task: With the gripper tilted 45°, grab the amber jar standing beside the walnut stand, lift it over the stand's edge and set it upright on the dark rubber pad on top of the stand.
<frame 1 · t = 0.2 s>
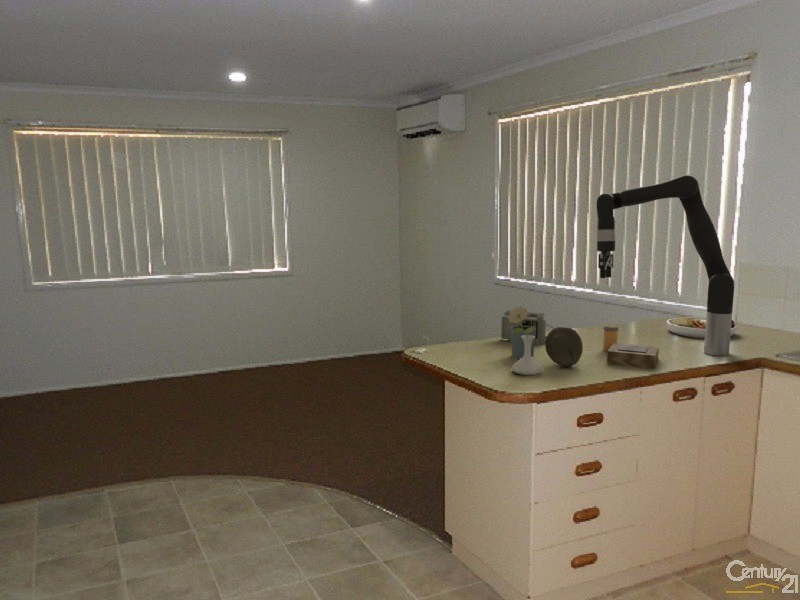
hand: (605, 277, 273), 29 cm above the worktop, tool pointing down, fingers open, 8 cm apart
coconut: (562, 366, 239), on the worktop
flower in vase: (524, 374, 228), on the worktop
drinking glass: (522, 357, 254), on the worktop
stand: (632, 361, 245), on the worktop
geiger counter: (528, 342, 281), on the worktop
amber jar: (609, 350, 264), on the worktop
bowl: (700, 334, 299), on the worktop
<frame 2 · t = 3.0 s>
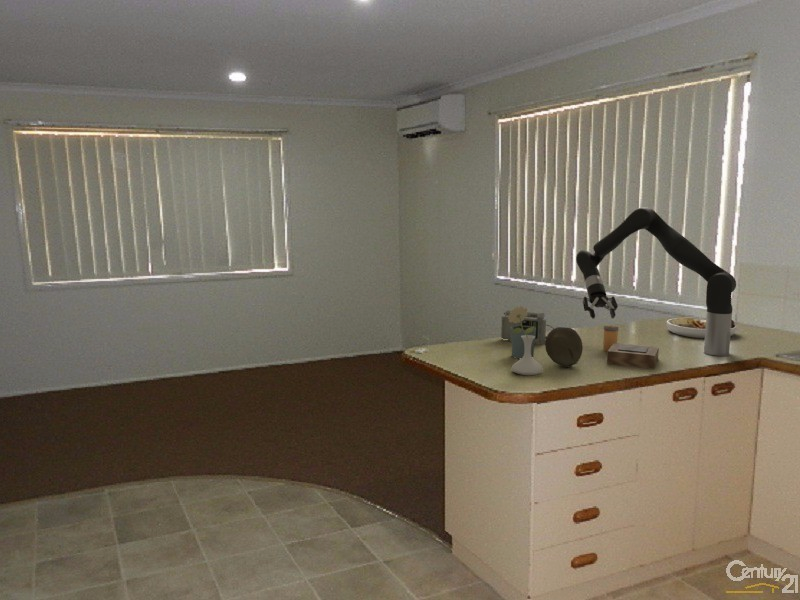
hand: (603, 317, 271), 12 cm above the worktop, tool tilted 45°, fingers open, 8 cm apart
nothing on the worktop moved.
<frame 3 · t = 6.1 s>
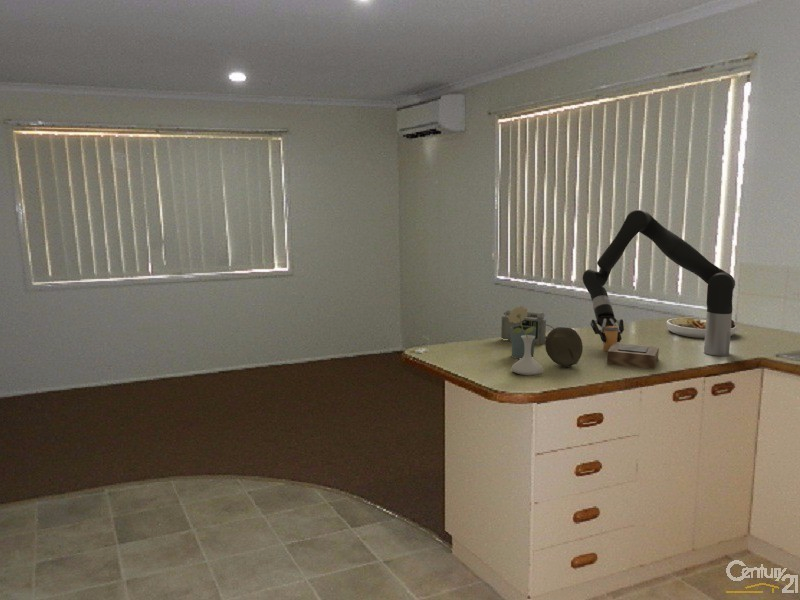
hand: (612, 341, 262), 4 cm above the worktop, tool tilted 45°, fingers closed on amber jar, 5 cm apart
amber jar: (609, 350, 264), on the worktop, touching gripper
everything else where it was.
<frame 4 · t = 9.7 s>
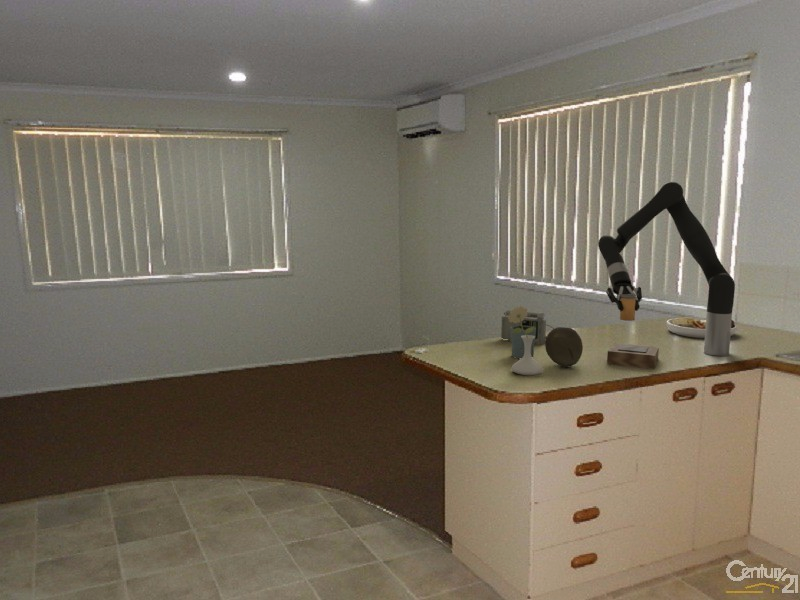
hand: (629, 309, 247), 20 cm above the worktop, tool tilted 45°, fingers closed on amber jar, 5 cm apart
amber jar: (627, 319, 249), point 16 cm above the worktop, touching gripper
everything else where it was.
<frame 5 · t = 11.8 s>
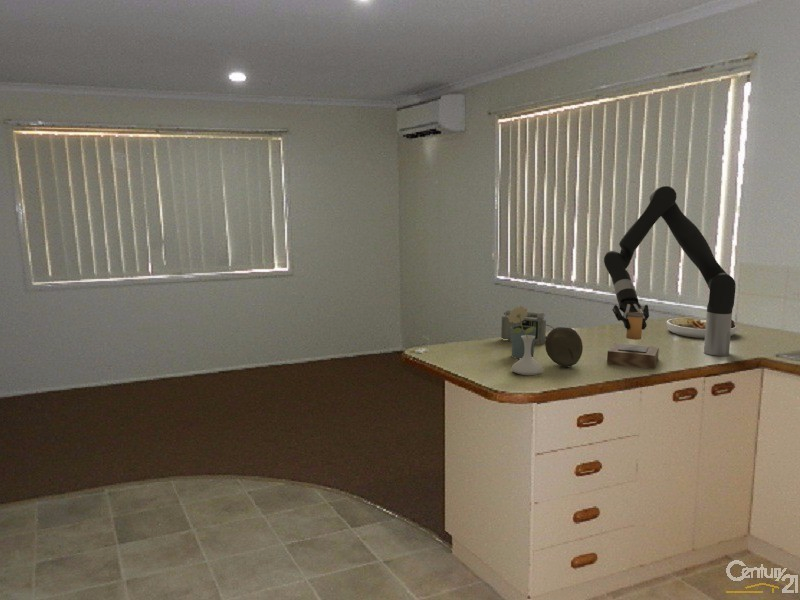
hand: (636, 328, 242), 14 cm above the worktop, tool tilted 45°, fingers closed on amber jar, 5 cm apart
amber jar: (633, 338, 244), point 9 cm above the worktop, touching gripper
everything else where it was.
when the fingers open (11 cm above the worktop, at t = 13.3 s): amber jar drops 1 cm, resting on stand.
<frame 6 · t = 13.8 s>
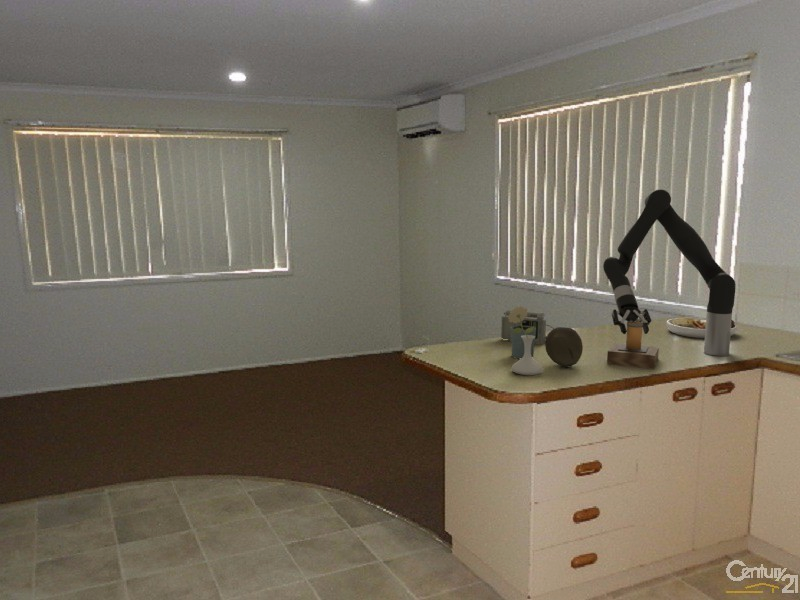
hand: (635, 332, 242), 12 cm above the worktop, tool tilted 45°, fingers open, 8 cm apart
amber jar: (633, 347, 245), point 5 cm above the worktop, touching stand
everything else where it was.
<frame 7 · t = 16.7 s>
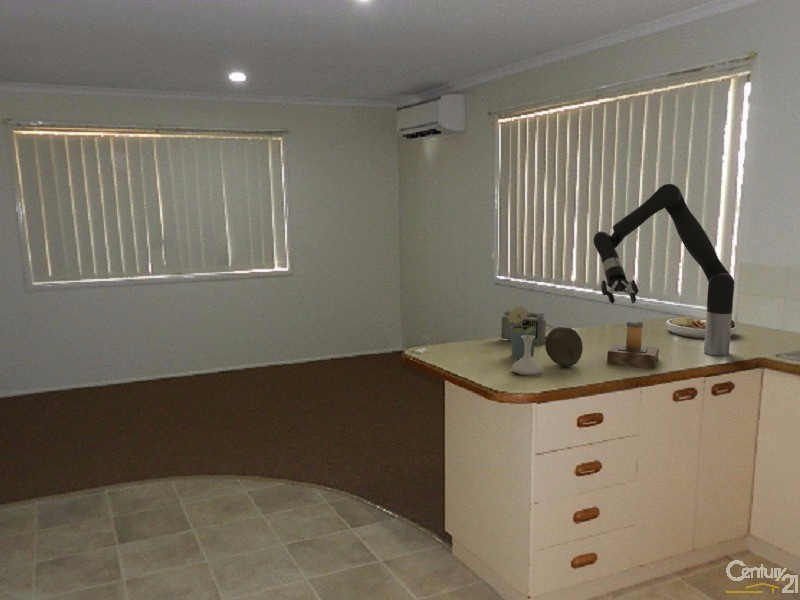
hand: (623, 302, 254), 22 cm above the worktop, tool tilted 45°, fingers open, 8 cm apart
nothing on the worktop moved.
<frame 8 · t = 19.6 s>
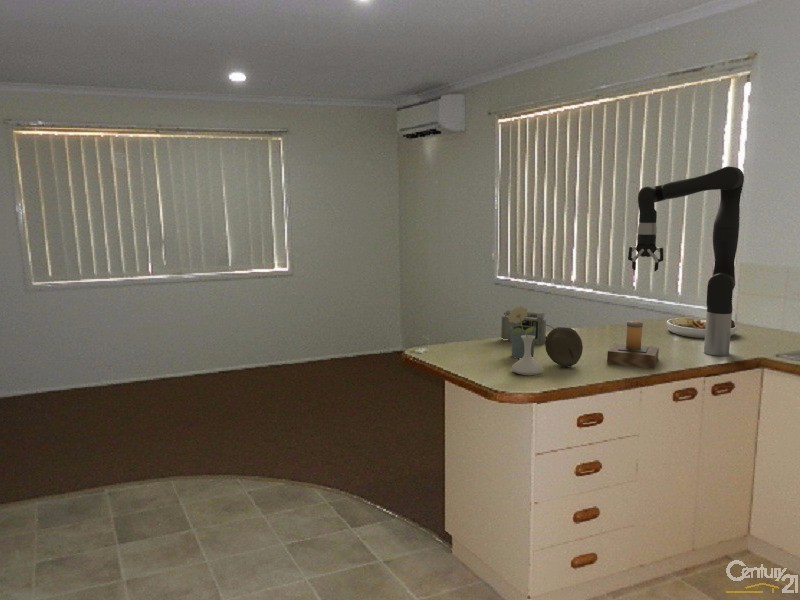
hand: (644, 270, 274), 32 cm above the worktop, tool pointing down, fingers open, 8 cm apart
nothing on the worktop moved.
at the end: amber jar inside the target area on the stand (0.1 cm from its centre), point 5.4 cm above the stand's base; amber jar tilted 0°; the gripper is holding nothing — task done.
